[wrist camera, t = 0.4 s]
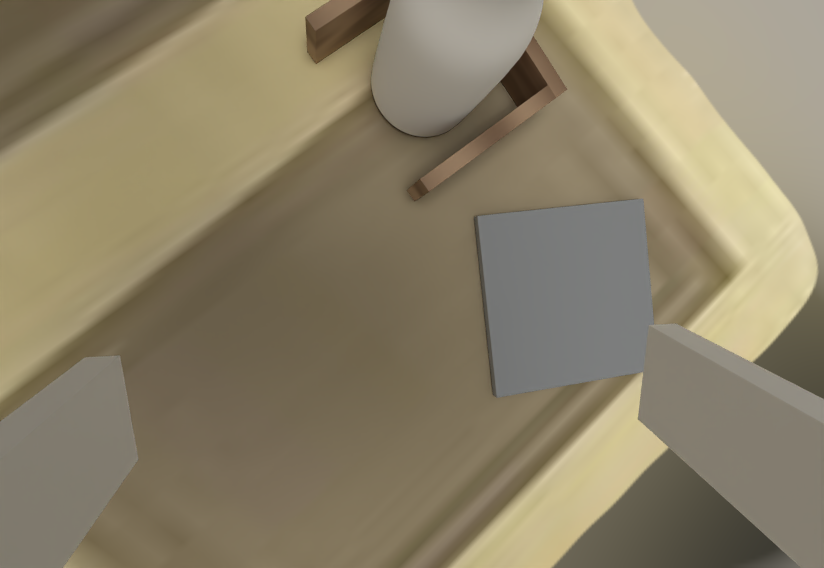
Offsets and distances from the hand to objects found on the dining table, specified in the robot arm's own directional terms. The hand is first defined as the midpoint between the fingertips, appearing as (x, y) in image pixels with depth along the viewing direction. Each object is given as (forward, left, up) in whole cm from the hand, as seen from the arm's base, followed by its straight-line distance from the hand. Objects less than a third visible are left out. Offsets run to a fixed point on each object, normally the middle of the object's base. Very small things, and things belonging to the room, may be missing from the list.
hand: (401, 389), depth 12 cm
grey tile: (+1, +17, -24) cm, 30 cm away
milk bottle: (-16, +7, -24) cm, 30 cm away
